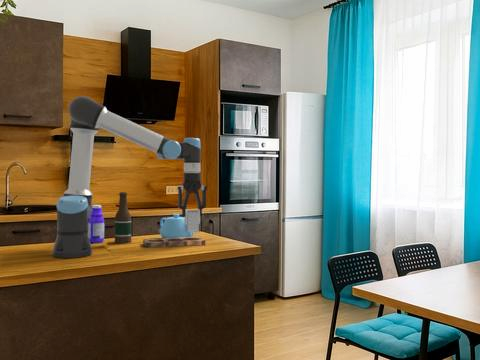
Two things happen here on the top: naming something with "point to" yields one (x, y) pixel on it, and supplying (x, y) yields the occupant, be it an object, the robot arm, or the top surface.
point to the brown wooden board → (173, 242)
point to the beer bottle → (123, 221)
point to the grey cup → (192, 221)
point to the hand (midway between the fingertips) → (192, 223)
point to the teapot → (173, 227)
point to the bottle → (96, 225)
